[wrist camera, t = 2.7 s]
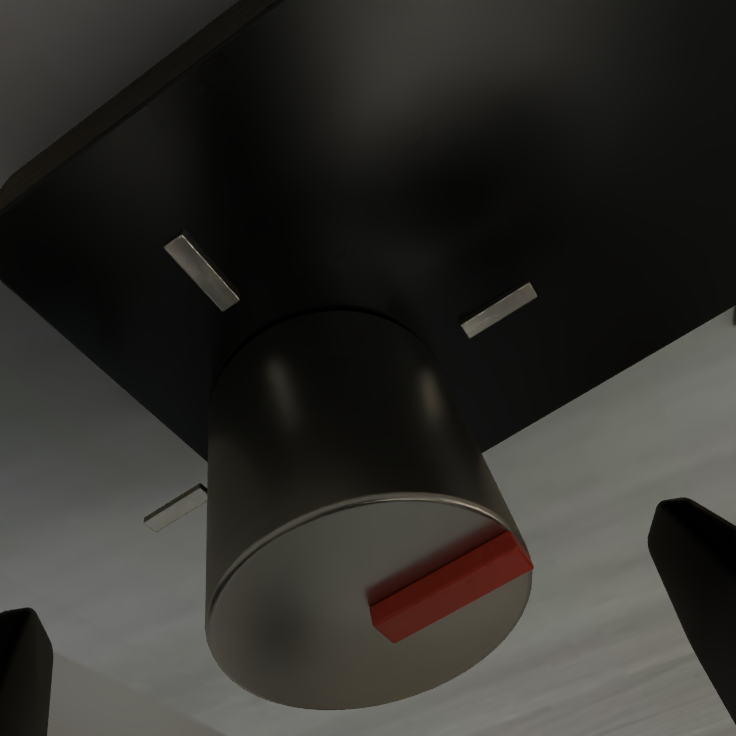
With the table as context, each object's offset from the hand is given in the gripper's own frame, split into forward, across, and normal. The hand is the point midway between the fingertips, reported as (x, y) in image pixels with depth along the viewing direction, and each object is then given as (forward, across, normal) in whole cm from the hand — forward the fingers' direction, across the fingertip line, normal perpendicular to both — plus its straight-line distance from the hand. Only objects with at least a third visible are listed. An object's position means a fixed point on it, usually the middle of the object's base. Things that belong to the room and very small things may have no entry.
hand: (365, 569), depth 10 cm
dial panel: (+7, -2, -2) cm, 7 cm away
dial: (+4, 0, 0) cm, 4 cm away
